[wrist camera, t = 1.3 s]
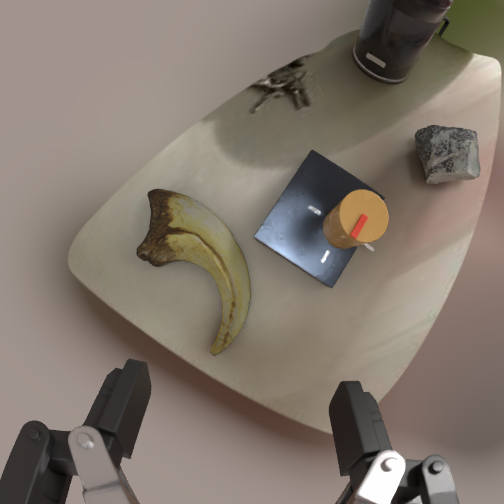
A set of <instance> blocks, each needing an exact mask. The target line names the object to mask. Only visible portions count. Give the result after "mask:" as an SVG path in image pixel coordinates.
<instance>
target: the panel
mask: <svg viewBox="0 0 504 504" xmlns="http://www.w3.org/2000/svg"><path fill="white" fill-rule="evenodd" d="M355 190H368V191H371V192H373V193H375V194H377V195H378V196H379V197H380V198H381V199H382V200H384V197H383V196H382V195H380V194H379V193H377V192H376V191H375V190H373V189H372V188H370V187H369V186H368V185H366V184H365V183H363V182H362V181H360V180H359V179H357V178H356V177H354V176H353V175H351V174H350V173H348V172H347V171H345V170H344V169H342V168H341V167H339V166H338V165H336V164H335V163H333V162H331V161H330V160H328V159H327V158H325V157H323V156H322V155H320V154H318V153H317V152H315V151H313V150H311V151H310V153H309V154H308V156H307V157H306V159H305V160H304V162H303V163H302V165H301V166H300V168H299V169H298V171H297V172H296V174H295V175H294V177H293V178H292V180H291V181H290V183H289V184H288V186H287V187H286V189H285V190H284V192H283V193H282V195H281V196H280V198H279V199H278V201H277V202H276V204H275V206H274V207H273V209H272V210H271V212H270V213H269V215H268V216H267V218H266V219H265V221H264V222H263V224H262V225H261V227H260V228H259V230H258V231H257V233H256V234H255V236H254V238H255V239H256V240H257V241H259V242H260V243H262V244H264V245H265V246H267V247H268V248H270V249H271V250H273V251H274V252H276V253H277V254H279V255H280V256H282V257H283V258H285V259H286V260H288V261H290V262H291V263H293V264H294V265H296V266H297V267H299V268H300V269H302V270H303V271H305V272H306V273H308V274H309V275H311V276H312V277H314V278H315V279H317V280H318V281H320V282H321V283H323V284H324V285H326V286H327V287H330V288H332V287H333V286H334V284H335V283H336V281H337V280H338V278H339V276H340V275H341V273H342V272H343V270H344V268H345V267H346V265H347V263H348V262H349V260H350V258H351V257H352V255H353V253H354V252H355V250H356V248H357V247H358V246H354V247H351V248H347V249H339V248H336V247H334V246H332V245H331V244H330V243H329V242H328V241H327V240H326V238H325V236H324V233H323V222H324V220H325V218H326V216H327V215H328V214H329V213H330V212H331V211H332V210H333V209H334V208H335V207H336V206H337V205H338V204H339V203H340V202H341V201H342V200H343V199H344V198H345V197H346V196H347V195H348V194H349V193H351V192H353V191H355ZM363 245H364V246H365V247H367V248H368V249H370V250H371V251H372V252H373V251H374V248H373V247H371V246H370V245H368V244H367V243H366V244H363Z"/></svg>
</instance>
